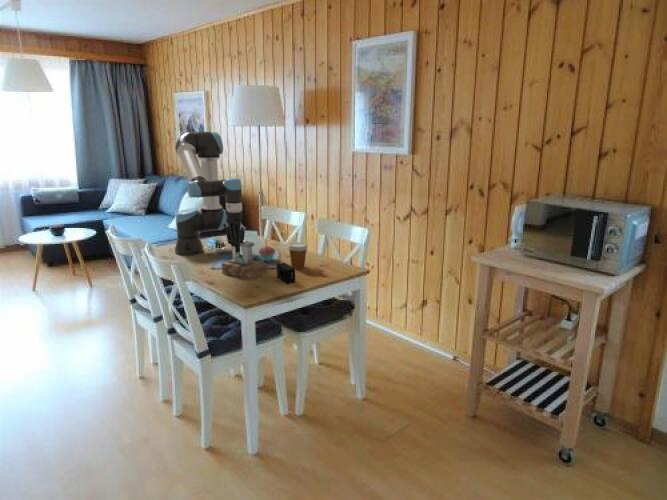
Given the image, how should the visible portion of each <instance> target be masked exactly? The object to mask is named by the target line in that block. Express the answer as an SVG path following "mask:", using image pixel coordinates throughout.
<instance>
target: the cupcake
mask: <svg viewBox="0 0 667 500" xmlns="http://www.w3.org/2000/svg"><path fill="white" fill-rule="evenodd" d="M258 253H259V254H260V256H261V259H262V261H264V260H266V261H265V262H268V261H267V260H271V259H272V260H273V257H274V255H275V253H276V250H275V248H273V247H271V246H268V240H267V239H265V246H263V247H261V248H260V249H259V250H258ZM272 260H271V261H272Z"/></svg>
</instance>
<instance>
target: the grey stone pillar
mask: <svg viewBox="0 0 667 500" xmlns="http://www.w3.org/2000/svg"><path fill="white" fill-rule="evenodd" d="M240 246H241V247H242V251H243V265H246V266H249V265H252V260H253V247H254V246H255V242H248V241H246V242H243V243H240Z"/></svg>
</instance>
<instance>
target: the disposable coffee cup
mask: <svg viewBox="0 0 667 500" xmlns="http://www.w3.org/2000/svg"><path fill="white" fill-rule="evenodd" d="M307 249H308V246H307V243H305V242H292V243H289V245H288V250H289V257H290V266H291V267H293V268H295V270H303V269H304V268H305V263H306V256H307Z"/></svg>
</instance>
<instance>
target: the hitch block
mask: <svg viewBox="0 0 667 500" xmlns="http://www.w3.org/2000/svg"><path fill="white" fill-rule="evenodd" d="M267 265H268V264H267V263H266V262H263V261H258V260H253V259H252V265H249V266H246V265H243V264H240V263H237V262H234V259H233V258H232V259H230V260H226V261H224V262H221V274H225V275H229V276H232V277H236V278H241V279H244V280H249V281H253V280H255V279H256V278H259V277H261V276H264V275H266V274H268V266H267Z"/></svg>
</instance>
